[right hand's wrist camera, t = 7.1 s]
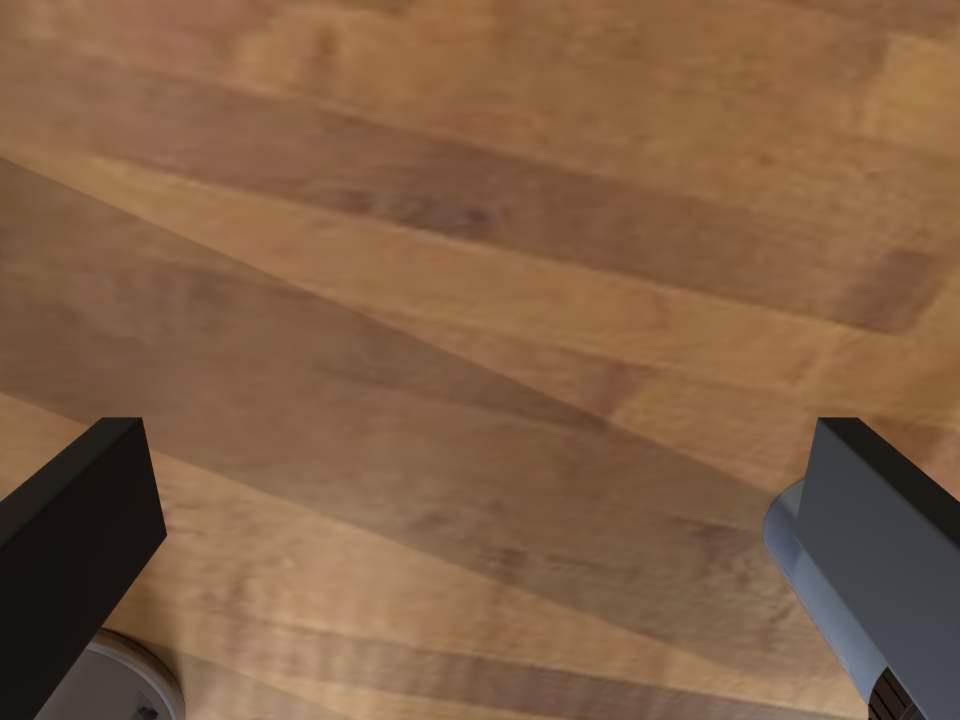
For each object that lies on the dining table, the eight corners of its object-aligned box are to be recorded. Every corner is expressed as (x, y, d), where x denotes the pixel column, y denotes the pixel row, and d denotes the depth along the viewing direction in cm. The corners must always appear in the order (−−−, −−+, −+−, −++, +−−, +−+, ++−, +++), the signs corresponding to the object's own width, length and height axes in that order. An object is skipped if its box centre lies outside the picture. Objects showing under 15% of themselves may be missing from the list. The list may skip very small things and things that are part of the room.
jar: (744, 562, 45) (870, 779, 30) (788, 462, 42) (951, 649, 27) (855, 581, 45) (1029, 803, 31) (905, 483, 42) (1124, 678, 28)
